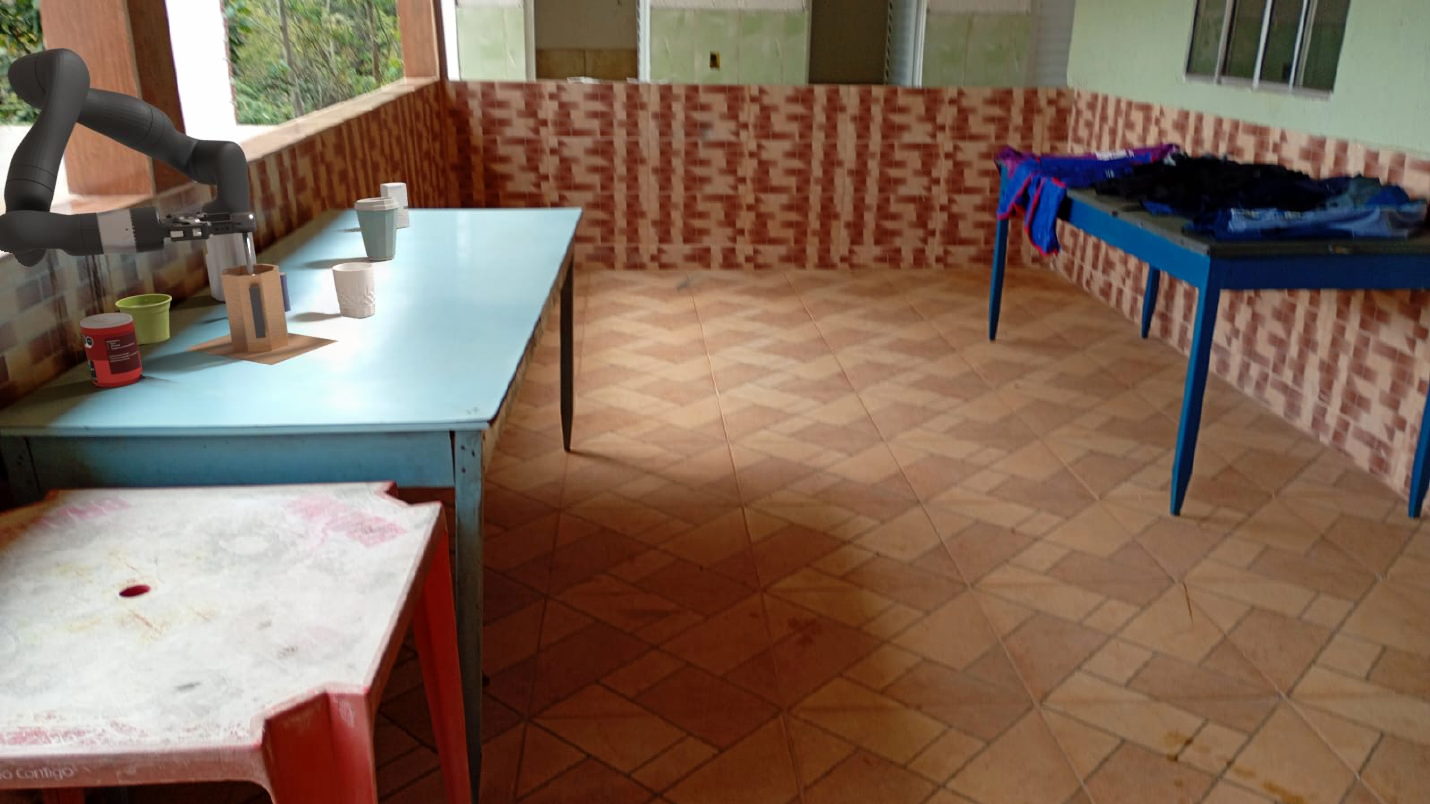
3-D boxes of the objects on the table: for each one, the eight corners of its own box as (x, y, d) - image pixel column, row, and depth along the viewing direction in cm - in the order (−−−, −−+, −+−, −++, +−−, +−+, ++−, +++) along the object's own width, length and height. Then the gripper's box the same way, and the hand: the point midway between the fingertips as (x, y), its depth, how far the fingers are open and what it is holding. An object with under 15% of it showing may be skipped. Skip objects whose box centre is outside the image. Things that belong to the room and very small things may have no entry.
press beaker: (219, 349, 206) (207, 273, 201) (262, 335, 214) (251, 262, 209) (263, 356, 201) (251, 279, 196) (305, 342, 210) (295, 267, 205)
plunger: (233, 340, 206) (214, 215, 199) (261, 331, 212) (243, 209, 204) (259, 345, 204) (240, 218, 196) (286, 335, 209) (269, 212, 201)
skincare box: (391, 229, 316) (386, 185, 312) (383, 227, 319) (378, 184, 315) (411, 226, 320) (406, 183, 316) (402, 224, 323) (398, 181, 319)
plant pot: (143, 355, 207) (134, 309, 204) (113, 347, 211) (104, 302, 208) (189, 342, 214) (182, 297, 211) (159, 335, 219) (151, 291, 216)
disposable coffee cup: (350, 261, 279) (343, 199, 274) (378, 252, 288) (372, 192, 283) (386, 264, 275) (379, 202, 270) (413, 255, 285) (407, 195, 279)
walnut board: (183, 355, 206) (182, 348, 206) (253, 332, 220) (252, 326, 219) (272, 371, 197) (271, 364, 197) (339, 346, 211) (338, 340, 210)
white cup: (366, 320, 228) (361, 271, 224) (330, 318, 229) (324, 270, 226) (385, 310, 235) (379, 263, 232) (350, 308, 237) (344, 261, 233)
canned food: (103, 374, 196) (91, 313, 193) (151, 373, 197) (139, 311, 193) (83, 389, 189) (70, 325, 185) (133, 387, 190) (121, 323, 186)
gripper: (127, 215, 185) (234, 207, 192) (126, 202, 197) (226, 195, 204) (135, 260, 188) (240, 251, 195) (133, 245, 200) (232, 236, 207)
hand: (233, 222), depth 200 cm, fingers open, 8 cm apart
